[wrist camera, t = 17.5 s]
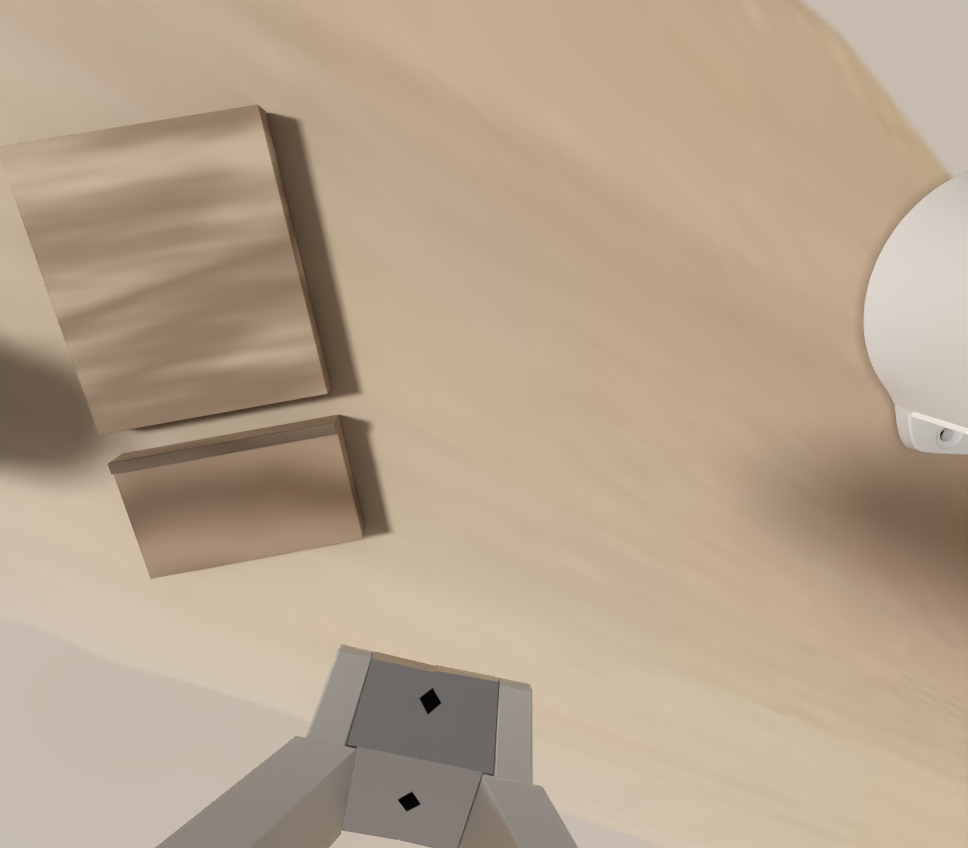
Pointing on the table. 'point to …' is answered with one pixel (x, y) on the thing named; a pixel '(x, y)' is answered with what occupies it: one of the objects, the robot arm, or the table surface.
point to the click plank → (171, 266)
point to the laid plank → (240, 496)
